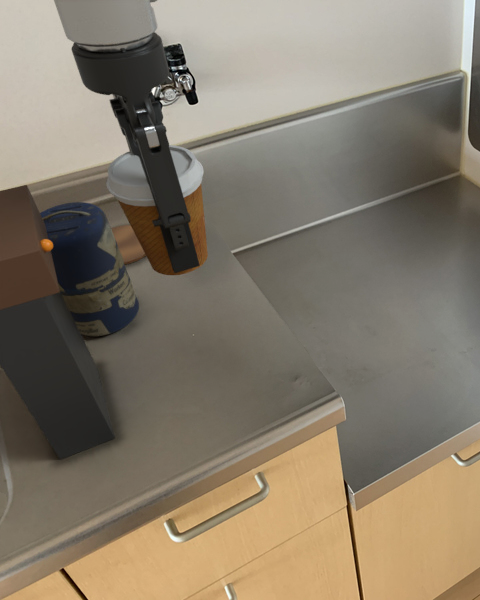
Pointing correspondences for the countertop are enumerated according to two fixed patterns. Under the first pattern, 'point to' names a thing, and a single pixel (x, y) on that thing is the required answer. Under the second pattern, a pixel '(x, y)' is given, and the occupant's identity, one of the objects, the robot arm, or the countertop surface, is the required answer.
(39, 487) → the countertop surface
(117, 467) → the countertop surface
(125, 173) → the disposable coffee cup
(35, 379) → the wood-topped grey pedestal
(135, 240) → the cork coaster
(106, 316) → the canister
